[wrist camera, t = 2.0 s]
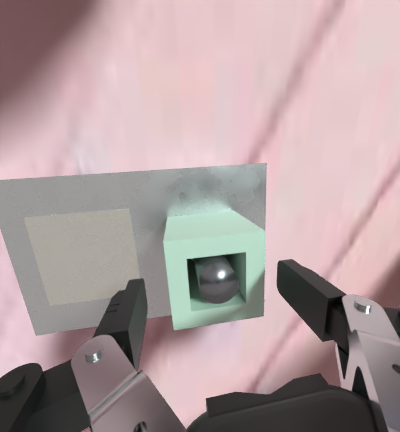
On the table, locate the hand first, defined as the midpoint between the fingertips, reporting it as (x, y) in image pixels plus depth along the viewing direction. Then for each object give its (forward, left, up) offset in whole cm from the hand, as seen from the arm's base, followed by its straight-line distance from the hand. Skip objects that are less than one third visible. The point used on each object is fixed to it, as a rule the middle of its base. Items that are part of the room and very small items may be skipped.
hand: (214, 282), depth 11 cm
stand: (+5, 0, -8) cm, 9 cm away
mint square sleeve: (0, 0, -6) cm, 6 cm away
